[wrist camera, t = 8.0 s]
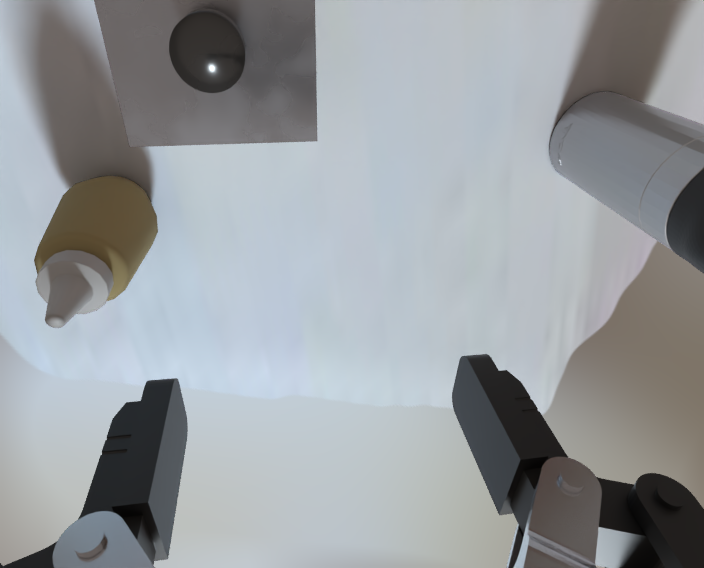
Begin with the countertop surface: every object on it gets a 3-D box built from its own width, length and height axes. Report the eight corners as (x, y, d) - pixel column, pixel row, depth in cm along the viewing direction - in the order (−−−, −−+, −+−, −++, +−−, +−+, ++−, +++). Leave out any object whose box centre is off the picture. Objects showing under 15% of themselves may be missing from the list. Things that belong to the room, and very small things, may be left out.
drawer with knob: (290, -67, 35) (324, -91, 19) (295, 84, 40) (326, 164, 24) (140, -72, 33) (36, -105, 17) (169, 85, 39) (112, 173, 23)
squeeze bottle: (97, 144, 42) (15, 243, 27) (180, 197, 46) (147, 308, 31) (55, 210, 44) (-41, 334, 30) (137, 255, 48) (87, 383, 34)
